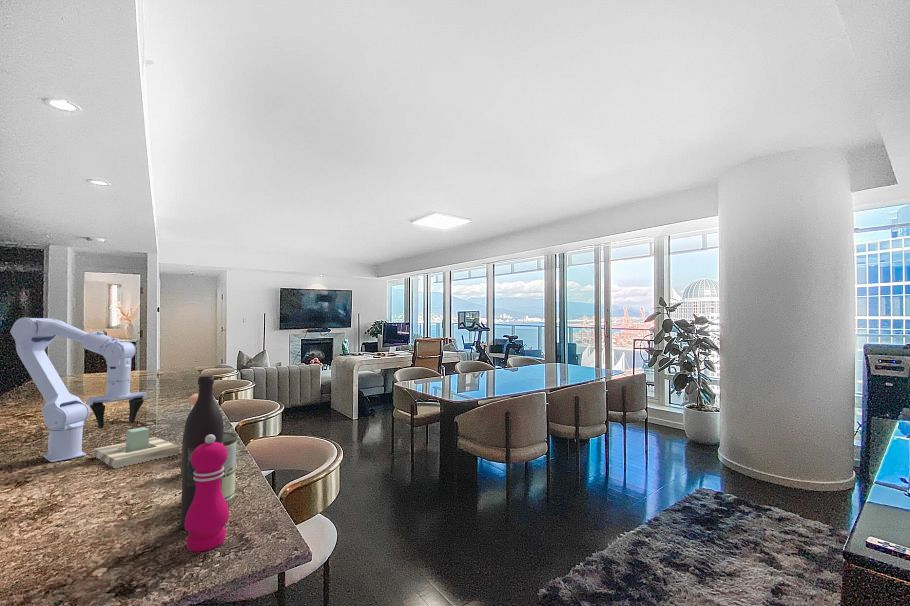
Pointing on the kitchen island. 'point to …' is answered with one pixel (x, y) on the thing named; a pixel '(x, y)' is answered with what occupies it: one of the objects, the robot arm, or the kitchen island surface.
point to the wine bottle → (199, 437)
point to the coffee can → (229, 466)
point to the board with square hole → (135, 453)
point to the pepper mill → (207, 498)
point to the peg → (137, 439)
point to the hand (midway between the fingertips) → (116, 425)
